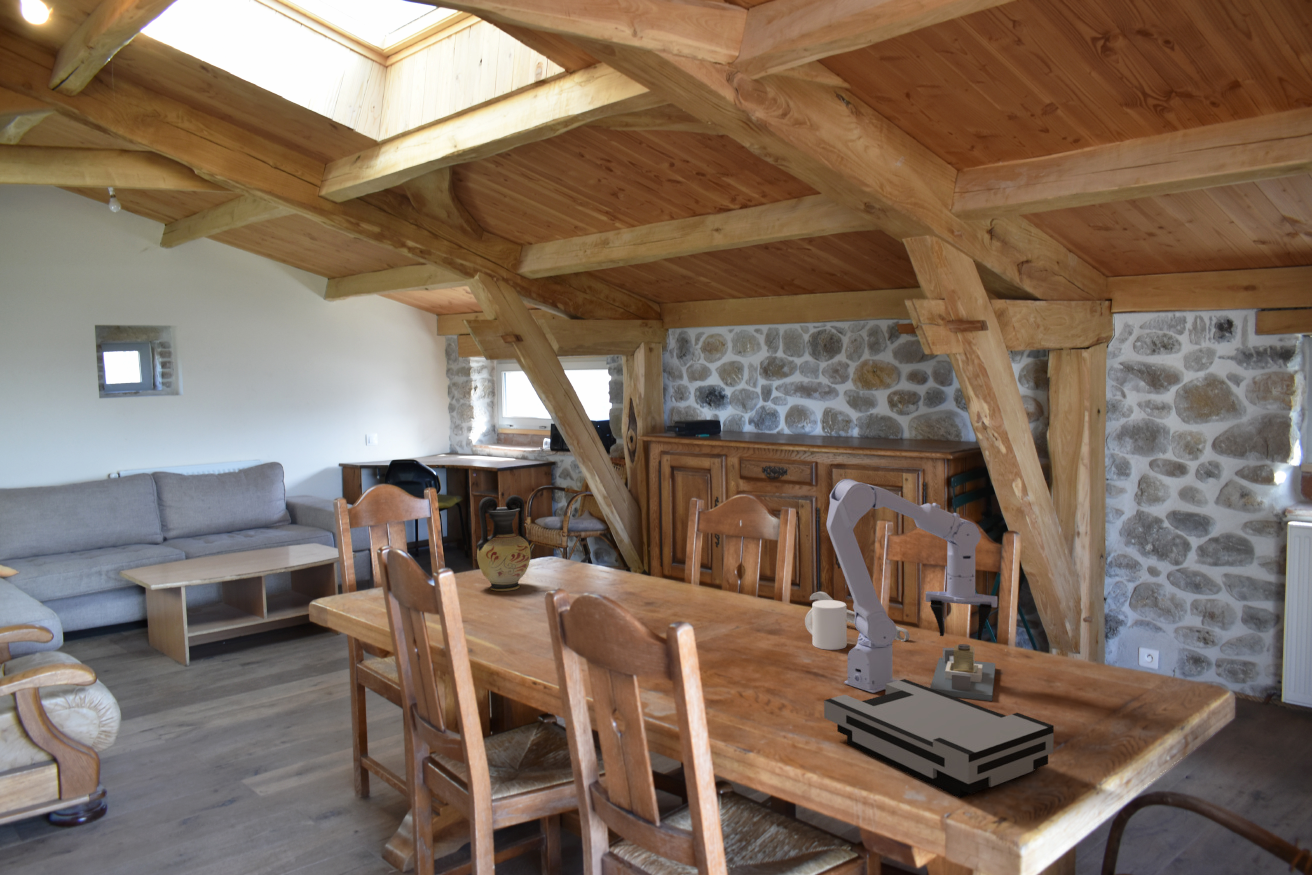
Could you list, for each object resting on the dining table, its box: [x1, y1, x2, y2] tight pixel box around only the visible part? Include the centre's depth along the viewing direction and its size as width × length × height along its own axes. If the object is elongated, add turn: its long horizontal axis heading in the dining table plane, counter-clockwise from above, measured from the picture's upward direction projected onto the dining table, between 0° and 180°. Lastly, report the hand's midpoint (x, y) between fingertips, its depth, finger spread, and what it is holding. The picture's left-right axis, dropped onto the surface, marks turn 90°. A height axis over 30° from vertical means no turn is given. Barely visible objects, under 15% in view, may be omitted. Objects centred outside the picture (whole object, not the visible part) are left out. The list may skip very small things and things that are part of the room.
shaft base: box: [929, 647, 996, 702], centre depth 189 cm, size 22×12×4 cm, turn 157°
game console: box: [823, 678, 1054, 799], centre depth 152 cm, size 21×32×8 cm, turn 31°
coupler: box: [953, 643, 975, 673], centre depth 188 cm, size 4×4×7 cm
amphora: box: [476, 494, 531, 592], centre depth 284 cm, size 18×17×30 cm
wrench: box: [809, 591, 910, 642], centre depth 230 cm, size 8×2×30 cm
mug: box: [804, 599, 848, 651], centre depth 218 cm, size 8×10×12 cm
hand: (960, 636), depth 189 cm, fingers open, 7 cm apart
